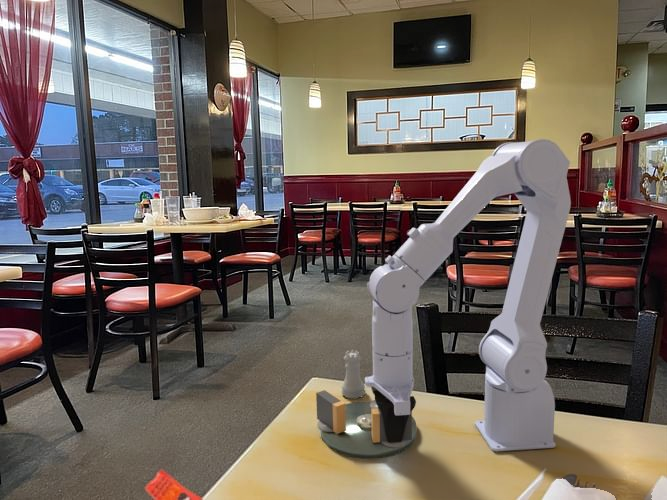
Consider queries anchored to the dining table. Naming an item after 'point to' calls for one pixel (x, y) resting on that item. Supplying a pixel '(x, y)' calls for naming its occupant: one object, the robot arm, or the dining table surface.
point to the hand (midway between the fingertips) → (393, 436)
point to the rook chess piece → (352, 376)
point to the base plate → (361, 435)
